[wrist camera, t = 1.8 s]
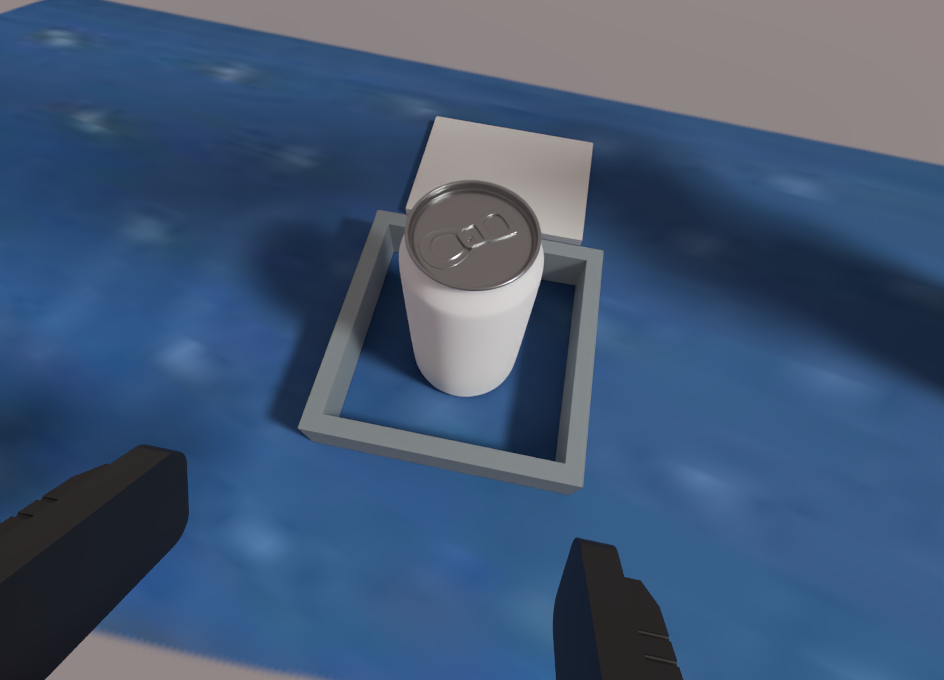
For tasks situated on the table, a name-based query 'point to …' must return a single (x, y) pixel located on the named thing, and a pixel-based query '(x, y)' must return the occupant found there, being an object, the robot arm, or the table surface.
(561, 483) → the grey square frame
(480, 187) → the can
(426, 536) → the table surface
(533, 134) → the mat
